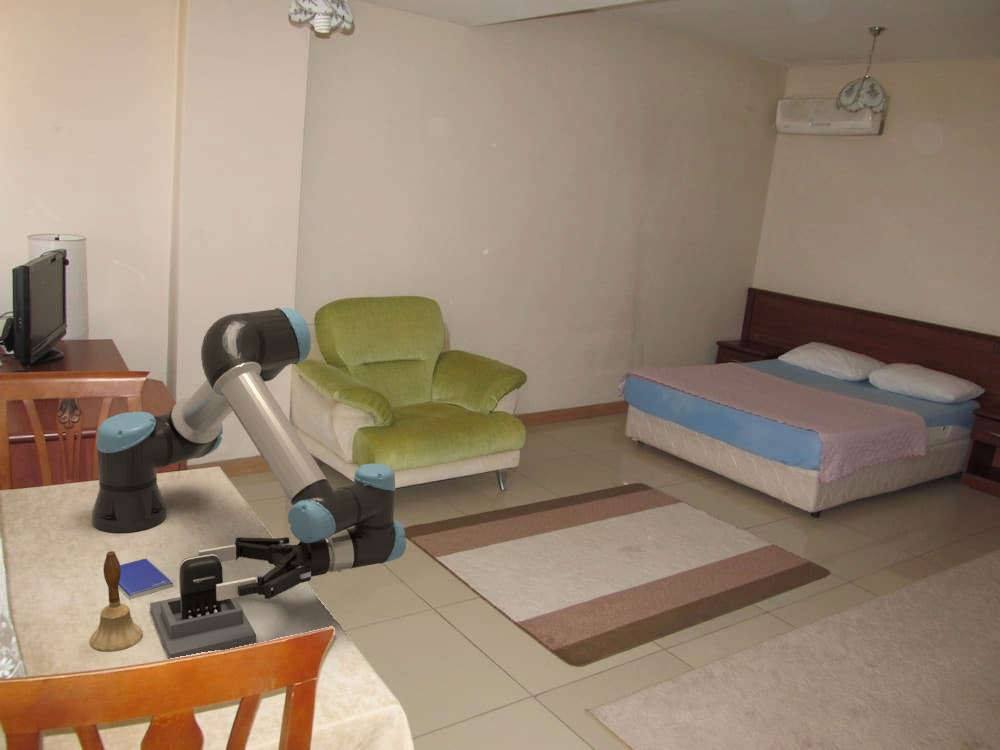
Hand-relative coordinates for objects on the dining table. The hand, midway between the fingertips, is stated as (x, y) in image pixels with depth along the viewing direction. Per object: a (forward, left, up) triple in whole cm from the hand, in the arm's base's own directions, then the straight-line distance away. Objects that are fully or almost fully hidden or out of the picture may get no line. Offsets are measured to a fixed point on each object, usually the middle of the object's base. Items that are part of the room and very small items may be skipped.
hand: (207, 575), depth 147 cm
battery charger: (0, -1, -9) cm, 9 cm away
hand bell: (-3, -15, -10) cm, 18 cm away
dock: (0, -1, -10) cm, 10 cm away
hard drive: (-22, -8, -11) cm, 26 cm away
